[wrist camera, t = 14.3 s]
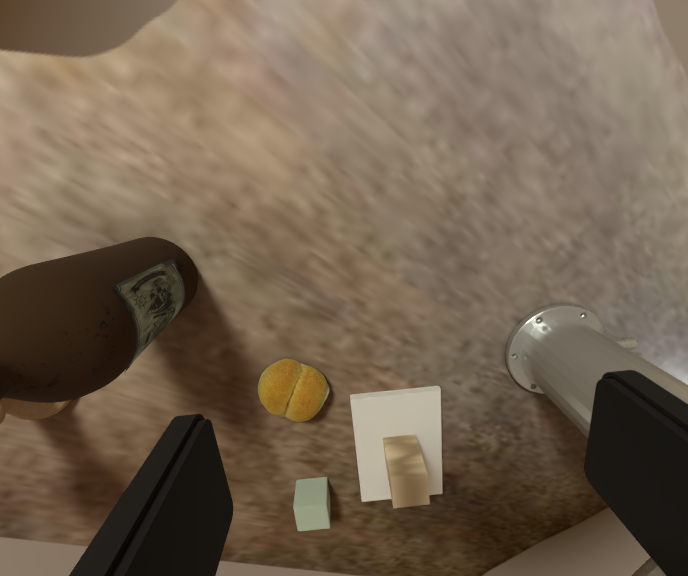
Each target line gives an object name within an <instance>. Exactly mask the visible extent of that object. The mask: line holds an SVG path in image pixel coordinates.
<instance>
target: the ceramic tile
mask: <svg viewBox="0 0 688 576" xmlns="http://www.w3.org/2000/svg"><path fill="white" fill-rule="evenodd" d="M350 400H351V409H352V418H353V426H354V435H355V444H356V453H357V462H358V471H359V480H360V489H361V498H362V502H365V501H375V500H384V499H392V497H391V492H390V486H389V480H388V475H387V469H386V463H385V454H384V444H383V438H386V437H395V436H403V435H412V434H415V435H416V438H417V442H418V445H419V448H420V451H421V454H422V458H423V461H424V464H425V467H426V471H427V474H428V482H429V495H434V494H442V434H441V389H440V387H439V386H431V387H421V388H411V389H402V390H392V391H382V392H372V393H362V394H353V395H350Z"/></svg>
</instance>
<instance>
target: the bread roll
mask: <svg viewBox="0 0 688 576" xmlns="http://www.w3.org/2000/svg"><path fill="white" fill-rule="evenodd" d="M329 389H330V388H329V385H328V384H327V381H326V379H325V377H324V376H323V374H322V373H320V372H319V371H318V370H316V369H315V368H313V367H310V366H307V365H304V364H302V363H300V362H298V361H295V360H293V359H288V358H286V359H282V360H280V361H278V362H276V363H274V364H272V365H270V366H269V367H268V368H267V369H265V371H264V372H263V373H262V375H261V377H260V380H259V383H258V394H259V399H260V401H261V403H262V404H263V406H264V407H265V408H266V409H267V410H268V411H269V412H270V413H272V414H274V415H277V416H282V417H286V418H288V419H290V420H292V421H295V422H304V421H307V420H310V419H311V418H313V417H314V416H315V415H316V414H317V413H318V412H319V411H320V409H321V407H322V406H323V404H324V402H325V400H326V398H327V396H328V394H329Z"/></svg>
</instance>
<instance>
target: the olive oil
mask: <svg viewBox="0 0 688 576" xmlns="http://www.w3.org/2000/svg"><path fill="white" fill-rule="evenodd" d="M196 288H197V274H196V270H195V267H194V265H193V263H192V261H191V259H190V258H189V256H188V255H187V254H186V253H185V252H184V251H183V250H182V249H181V248H180V247H178V246H177V245H175V244H174V243H172V242H170V241H167V240H165V239H161V238H156V237H145V238H139V239H135V240H132V241H128V242H124V243H121V244H117V245H113V246H109V247H105V248H101V249H97V250H93V251H89V252H85V253H81V254H76V255H72V256H68V257H63V258H59V259H55V260H50V261H46V262H41V263H37V264H33V265H29V266H26V267H22V268H20V269H17V270H15V271H12V272H10V273H8V274H6V275H5V276H3V277H1V278H0V400H1V399H2V398H8V399H15V400H22V401H29V402H38V403H56V402H64V401H69V400H73V399H76V398H79V397H82V396H85V395H87V394H90V393H92V392H94V391H96V390H98V389H100V388H102V387H104V386H106V385H107V384H109V383H110V382H112V381H113V380H114V379H116V378H117V377H118V376H119V375H120V374H121V373H122V372H123V371H124V370H125V369H126V368H127V369H128V368H129V367H130V365H131V364H132V362H133V361H134V360H135V359H136V358H137V357H138V356H139V355H140V353H141V352H142V351H143V350H144V349H145V348H146V347H147V346H148V345H149V344H150V343H151V342H152V341H153V339H154V338H155V337H156V336H157V335H158V334H159V333H160V332H161V331H162V330H163V329H164V328H165V327H166V326H167V325H168V324H169V323H170V322H171V321H172V320H173V319H174V318H175V316H176V315H177V314H178V313H179V312H180V311H181V310H182V309H183V308H184V307H185V306H186V305H187V304H188V303H189V302H190V301H191V300H192V298H193V296H194V294H195V292H196ZM127 369H126V370H127Z"/></svg>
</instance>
